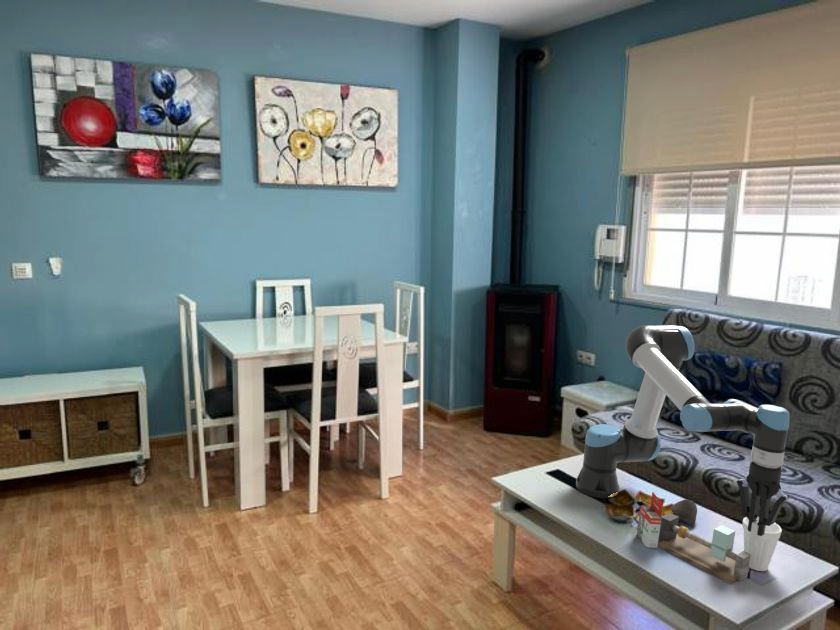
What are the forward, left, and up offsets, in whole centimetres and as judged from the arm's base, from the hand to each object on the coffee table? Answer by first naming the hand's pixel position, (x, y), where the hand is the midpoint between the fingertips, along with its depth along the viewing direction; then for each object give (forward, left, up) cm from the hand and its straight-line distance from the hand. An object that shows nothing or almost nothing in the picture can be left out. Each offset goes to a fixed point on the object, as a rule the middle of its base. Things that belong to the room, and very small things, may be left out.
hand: (754, 544), depth 168 cm
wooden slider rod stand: (-13, 0, -11) cm, 17 cm away
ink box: (-28, -6, -12) cm, 31 cm away
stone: (-30, +18, -12) cm, 36 cm away
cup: (-3, +10, -12) cm, 16 cm away
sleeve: (-8, 0, -8) cm, 12 cm away
